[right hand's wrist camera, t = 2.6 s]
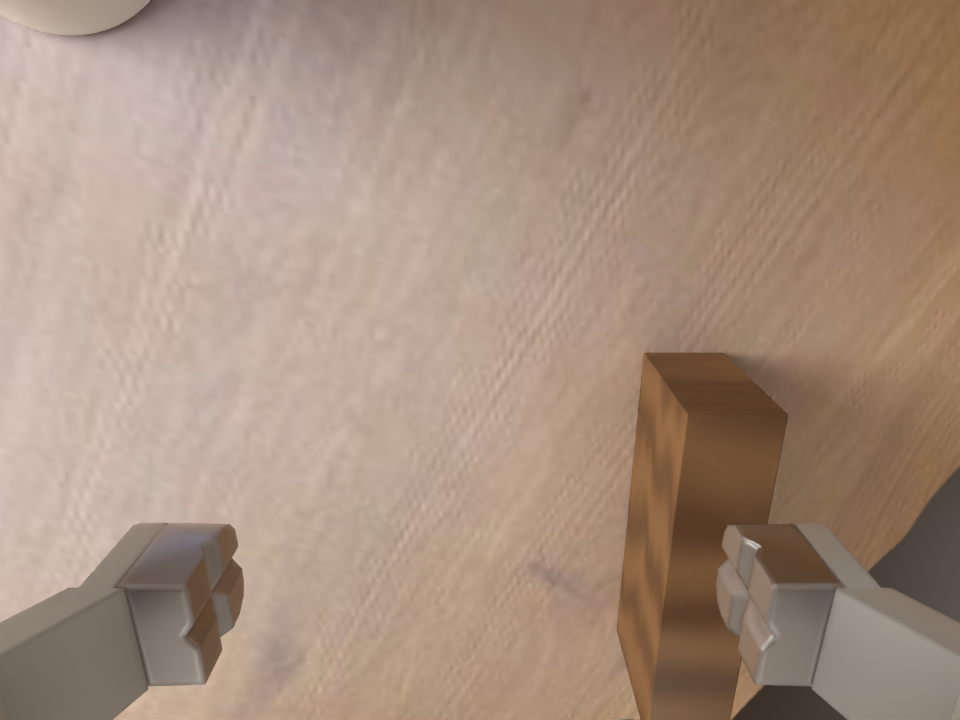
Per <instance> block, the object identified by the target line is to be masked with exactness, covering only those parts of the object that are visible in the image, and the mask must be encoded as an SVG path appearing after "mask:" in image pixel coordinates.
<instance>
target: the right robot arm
mask: <svg viewBox="0 0 960 720" xmlns="http://www.w3.org/2000/svg"><path fill="white" fill-rule="evenodd" d="M150 1H151V0H0V15H1V16H3V17H5V18H7V19H9V20H11V21H13V22H15V23H17V24H20V25H22V26H25V27H27V28H30V29H33V30H37V31H40V32H45V33H50V34H56V35H69V36H74V35H87V34H93V33H98V32H102V31H105V30H108V29H111V28H113V27H116V26H118V25H120V24H122V23H124V22H125V21H127V20H129V19H130V18H132V17H133V16H134V15H136V14H137V13H138V12H140V11H141V10H142V9H143V8H144V7H145V6H146V5H147V4H148V3H149V2H150ZM237 548H238V542H237V537H236V532H235V529H234V528H233V527H232V526H231V525H230V524H192V523H170V524H168V523H140V524H137V525H134V526H132V527H131V529H130V530H129V531H128V532H127V533H126V534H125V535H124V537H123V538H122V539H121V540H120V541H119V542H118V543H117V545H116V546H115V547H114V548H113V549H112V550H111V551H110V553H109V554H108V555H107V556H106V557H105V558H104V559H103V561H102V562H101V563H100V564H99V565H98V566H97V567H96V569H95V570H94V571H93V572H92V573H91V574H90V575H89V577H88V578H87V579H86V580H85V581H84V582H83V583H82V585H81V586H80V587H79V588H68V589H66V590H64V591H62V592H60V593H58V594H56V595H54V596H52V597H50V598H48V599H46V600H44V601H42V602H40V603H38V604H36V605H34V606H32V607H30V608H28V609H26V610H24V611H22V612H21V613H19V614H17V615H15V616H13V617H11V618H9V619H7V620H5V621H3V622H1V623H0V720H113V719H114V718H115V717H116V716H117V715H119V714H120V713H121V712H122V711H123V710H124V709H126V708H127V707H128V706H129V705H130V704H132V703H133V702H134V701H135V700H136V699H137V698H139V697H140V696H141V695H142V694H143V693H144V692H146V691H147V690H148V686H170V685H204V684H206V682H207V680H208V678H209V676H210V674H211V672H212V670H213V668H214V666H215V664H216V662H217V660H218V658H219V656H220V654H221V652H222V645H221V639H220V637H221V636H223V635H224V634H225V633H227V632H228V631H230V630H231V629H232V628H233V627H234V625H235V623H236V620H237V618H238V616H239V614H240V610H241V605H242V601H243V596H244V579H243V573H242V568H241V567H240V566H239V565H238V564H237V563H236V562H235V561H234V560H233V559H232V557H233V555H234V553H235V551H236V549H237ZM722 548H723V549H724V551H725V553H726V555H727V556H728V559H727V560H726V561H725V562H724V563H723V564H722V565H721V566H720V567H719V568H718V573H717V582H716V591H717V602H718V606H719V610H720V613H721V616H722V618H723V621H724V623H725V625H726V627H727V628H728V629H729V630H731V631H732V632H733V633H735V634H736V635H737V636H739V637H740V639H739V645H738V652H739V654H740V656H741V658H742V660H743V662H744V664H745V666H746V668H747V670H748V672H749V674H750V676H751V678H752V680H753V682H754V684H755V685H789V686H812V690H814V691H815V692H816V693H817V694H818V695H819V696H821V697H822V698H823V699H824V700H825V701H826V702H828V703H829V704H830V705H831V706H832V707H833V708H835V709H836V710H837V711H838V712H839V713H841V714H842V715H843V716H844V717H845V718H846V719H848V720H960V623H959V622H957V621H955V620H953V619H951V618H949V617H947V616H945V615H943V614H941V613H939V612H937V611H935V610H933V609H932V608H930V607H928V606H926V605H924V604H922V603H920V602H918V601H916V600H914V599H912V598H910V597H908V596H906V595H904V594H902V593H900V592H898V591H896V590H894V589H892V588H881V587H880V586H879V585H878V584H877V582H876V581H875V580H874V579H873V578H872V577H871V575H870V574H869V573H868V572H867V571H866V570H865V569H864V567H863V566H862V565H861V564H860V563H859V562H858V561H857V559H856V558H855V557H854V556H853V555H852V554H851V553H850V551H849V550H848V549H847V548H846V547H845V546H844V545H843V543H842V542H841V541H840V540H839V539H838V538H837V537H836V535H835V534H834V533H833V532H832V531H831V530H830V529H829V527H828V526H826V525H824V524H822V523H790V524H770V525H728V526H727V528H726V530H725V532H724V536H723V542H722Z"/></svg>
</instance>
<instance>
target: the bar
mask: <svg viewBox="0 0 960 720" xmlns="http://www.w3.org/2000/svg"><path fill="white" fill-rule="evenodd" d="M787 417H788V414H787V413H786V412H785V411H784V410H783V409H782V408H781V407H779V406H778V405H777V404H776V403H775V402H774V401H773V400H772V399H771V398H770V397H769V396H768V395H767V394H766V393H765V392H764V391H763V390H762V389H761V388H759V387H758V386H757V385H756V384H755V383H754V382H753V381H752V380H751V379H750V378H749V377H748V376H747V375H746V374H745V373H744V372H743V371H742V370H740V369H739V368H738V367H737V366H736V365H735V364H734V363H733V362H732V361H731V360H730V359H729V358H728V357H727V356H726V355H725V354H723V353H644V359H643V369H642V379H641V389H640V399H639V410H638V420H637V430H636V440H635V450H634V460H633V471H632V481H631V491H630V501H629V511H628V522H627V532H626V542H625V552H624V562H623V573H622V583H621V593H620V603H619V613H618V624H617V633H618V637H619V640H620V644H621V648H622V652H623V655H624V659H625V663H626V666H627V670H628V674H629V678H630V681H631V685H632V689H633V693H634V696H635V700H636V704H637V708H638V711H639V715H640V719H641V720H730V718H731V712H732V707H733V702H734V696H735V691H736V686H737V681H738V675H739V670H740V665H741V660H742V658H741V656H740V654H739V652H738V645H739V639H740V637H739V636H737V635H736V634H735V633H733V632H732V631H731V630H729V629H728V628H727V627H726V625H725V623H724V621H723V618H722V616H721V613H720V610H719V606H718V602H717V591H716V582H717V573H718V568H719V567H720V566H721V565H722V564H723V563H724V562H725V561H726V560H727V559H728V556H727V555H726V553H725V551H724V549H723V548H722V542H723V536H724V532H725V530H726V528H727V526H728V525H767V523H768V517H769V512H770V507H771V502H772V496H773V491H774V486H775V481H776V475H777V470H778V465H779V460H780V454H781V449H782V444H783V438H784V433H785V428H786V423H787Z"/></svg>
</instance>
